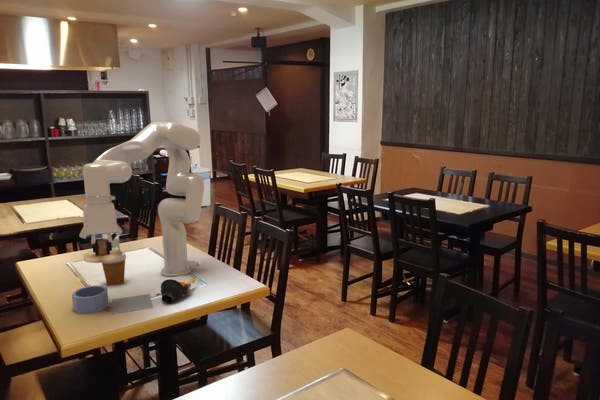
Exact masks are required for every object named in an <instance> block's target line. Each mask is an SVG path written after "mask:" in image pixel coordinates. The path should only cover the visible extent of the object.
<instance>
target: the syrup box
mask: <svg viewBox="0 0 600 400" xmlns="http://www.w3.org/2000/svg"><path fill="white" fill-rule="evenodd" d="M114 233H115V232H114ZM112 234H113V233H111V235H112ZM101 239H108V237H107V234H101ZM111 243H112V249H115V250H120V251H121V248H120V234H119V235H118V236H116V237H115V238H114V239H113V241H112V242H111Z"/></svg>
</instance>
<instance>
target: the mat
mask: <svg viewBox="0 0 600 400" xmlns="http://www.w3.org/2000/svg"><path fill="white" fill-rule="evenodd" d="M151 298H152V297H151V294H150V293H146V294H139V295H134V296H133V295H132V296H126V297H119V298H112V299H111V314H112V315H116V314H123V313H129V312H130V313H131V312H134V311H135V312H136V311H142V310H147V309H148V310H149V309H153V308H154V307H153V302H152V299H151Z"/></svg>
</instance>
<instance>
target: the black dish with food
mask: <svg viewBox="0 0 600 400" xmlns="http://www.w3.org/2000/svg"><path fill="white" fill-rule="evenodd" d="M196 281H197V278H196V277H193V278H192V279H190V280H189V281H187V282H186V281H185V280H183V281H178V280H176V279H173V278H172V279H165V280H163V281H162V282H161V284H160V294H161V301H162V302H164V303H165V304H172V303H174V302H177V301H178V300H180V299H183V298H184V297H185V296H188V295H189V294H190V292H189V291H190V290H191V286H192V284H194V283H195V282H196ZM169 298H171V300H172V301H171V302H170V301H167V300H168V299H169Z"/></svg>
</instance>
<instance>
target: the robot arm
mask: <svg viewBox="0 0 600 400" xmlns="http://www.w3.org/2000/svg"><path fill="white" fill-rule="evenodd" d="M200 144H201V135H200V134H199V132H198V130H196V129H194V128H192V127H189V126H187V125H183V124H181V123H178V122H174V121H153V122H151V123H149V124H148V125H146V126H145V127H144V128H143V129H142V130H140V131H139V132H138V133H137V134H136V135H135V136H134V137H132V138H131V139H130V140H127V141H124V142H123V143H121V144H118V145H116V146H114V147H111V148H109V149H107V150H105V151H104V152H103V153H102V154H101V155H99V156H98V157H97V158H96V159H95V160H94V161H93V162H90V163H86V164H84V165H83V168H82V170H83V171H82V173H83V183H84V192H85V193H84V195H85V204H84V205H83V211H82V212H83V213H82V215H83V216H82V217H83V218H82V219H83V220H82V221H83V227H82V229H81V230H80V233H79V235H78V236H79V238H81V239H85V240H87V241H88V242H89V243H91V246H92V252H93V253H95V254H96V255H98V250H97V239H96V236H97V235H98V236H99V235H102V234H107V237H108V239H107V250H108V254H110V251H112V243H111V242H112V241H113V239H114V238H115V237H116V236H118V235H119V236H120V235H121V234H122V233H123V230H122V228H121V227H120V226H119V225H118V223H117V222H118V221H117V213H116V209H115V205H114V202H113V201H116V196H115V195H112V194H111V187H110V184H123V183H125V182H127V181H129V180H130V179H131V177H132V174H133V169H132V167H131V165H130V164H129V163H135V162H140V161H143V160H146V159H147V158H149V157H150V156H151V155H152V154H153V153H154V152H155V151H156V150H157V149H158V148H159V147H161V145H162V146H163V148H164V150H165V151H166V154H167V155H168V161H169V162H168V168H167V170H168V171H167V176H166V183H165V189H166V192H167V194H170V195H173V196H180V197H182V196H184V197H185V198H175V197H169V198H164V199H162V200H161V201H160V202H159V204H158V206H157V212H158V214H157V215H158V217H159V221H160V224H161V235H162V246H163V247H162V248H163V249H162V251H163V263H164V264H163V265H164V267H162V268H161V270H160V274H161V275H162V276H164V277H169V278H171V277H172V278H173V277H175V278H176V277H182V276H183V277H184V276H186V275H189V274H190V273H191V272H192V270H193V269H192V268H193V267H198V266H200V262H199V261H198V260H197V261H196V260H189V259H188V248H187V247H188V245H187V244H188V243H187V230H186V227H185V225H184V223H185V224H194V223H196V222H197V221H198V220H199V218H200V215H201V212H202V206H203V198H204V193H205V182H204V178H203V177H202V176H201V175H200V174H198V173H193V172H190V170H191V169H190V168H191V159H190V156H189V155H188V152H187V151H193V150H196V149H198V148H199V146H200ZM114 232H115V233H114ZM111 233H113V234H112V235H111Z"/></svg>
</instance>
